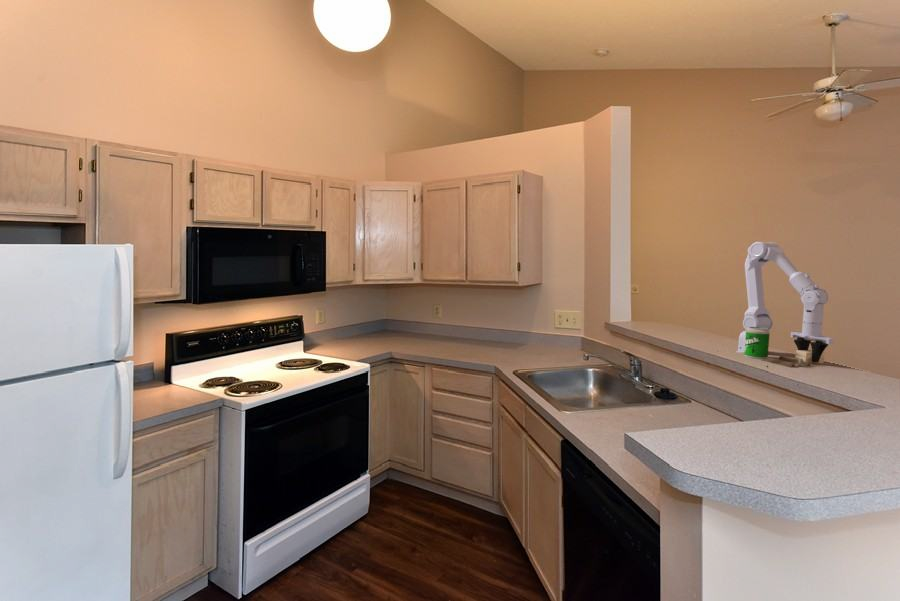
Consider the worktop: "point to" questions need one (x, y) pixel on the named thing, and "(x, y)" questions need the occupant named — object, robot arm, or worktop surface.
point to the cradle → (793, 362)
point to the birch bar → (807, 356)
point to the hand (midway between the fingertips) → (809, 360)
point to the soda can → (756, 342)
